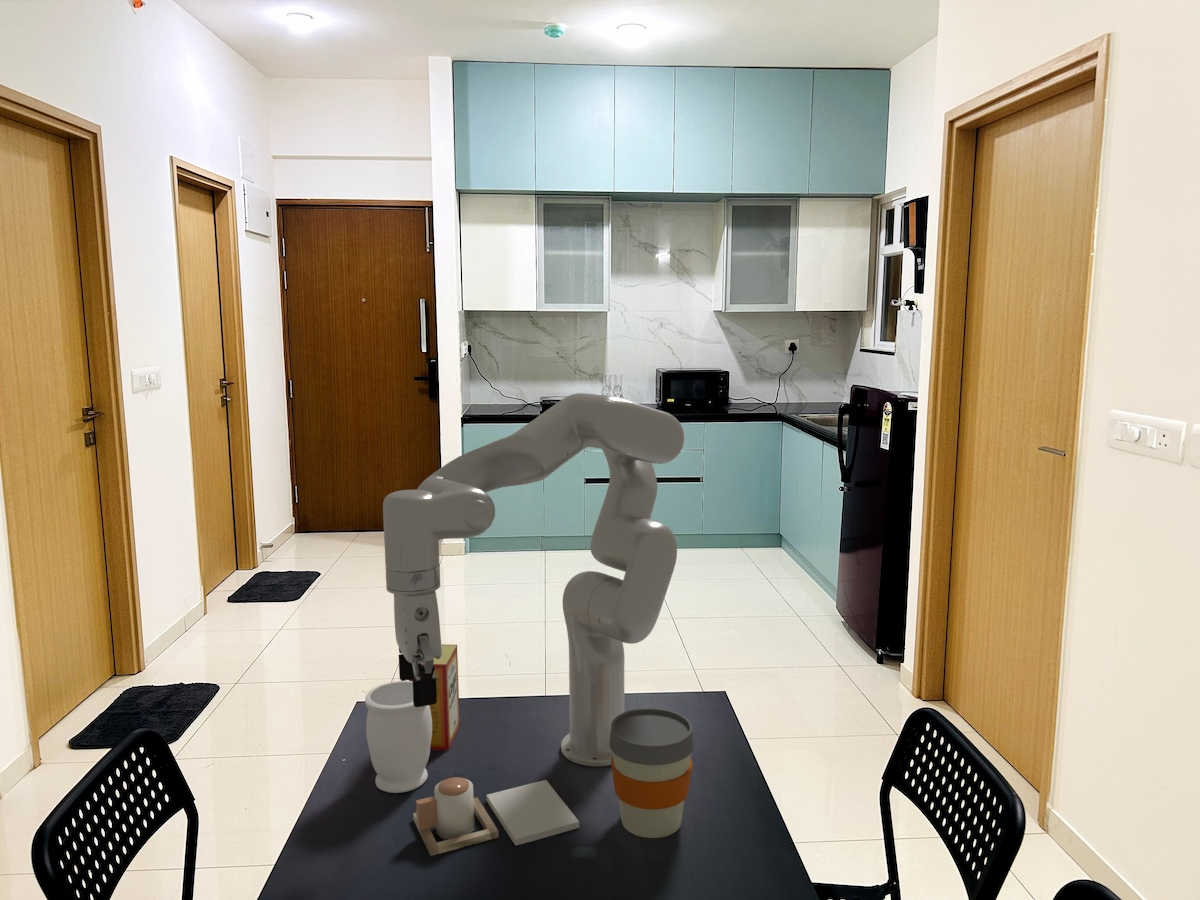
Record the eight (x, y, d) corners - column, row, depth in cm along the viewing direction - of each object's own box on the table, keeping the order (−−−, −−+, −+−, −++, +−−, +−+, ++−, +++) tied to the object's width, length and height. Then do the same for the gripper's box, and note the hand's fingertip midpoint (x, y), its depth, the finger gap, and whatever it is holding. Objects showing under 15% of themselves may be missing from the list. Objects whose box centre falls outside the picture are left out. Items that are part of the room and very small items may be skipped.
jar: (418, 801, 135) (414, 710, 133) (357, 794, 137) (352, 705, 135) (443, 766, 145) (440, 682, 143) (386, 761, 147) (382, 677, 145)
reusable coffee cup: (619, 850, 122) (619, 751, 120) (602, 802, 134) (601, 711, 132) (704, 839, 124) (705, 742, 122) (679, 793, 137) (680, 703, 134)
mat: (545, 785, 139) (545, 779, 139) (579, 827, 128) (579, 821, 127) (486, 800, 135) (486, 794, 135) (515, 845, 123) (515, 839, 123)
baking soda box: (424, 724, 160) (421, 642, 158) (459, 725, 160) (457, 642, 158) (411, 749, 151) (408, 662, 149) (448, 750, 151) (445, 663, 148)
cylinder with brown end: (467, 814, 131) (466, 771, 130) (479, 833, 126) (477, 789, 125) (413, 828, 128) (411, 784, 127) (423, 848, 123) (421, 803, 122)
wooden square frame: (477, 803, 134) (477, 797, 134) (498, 837, 125) (498, 831, 125) (413, 819, 130) (413, 813, 130) (430, 856, 121) (430, 849, 121)
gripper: (454, 591, 116) (458, 711, 119) (425, 559, 132) (429, 665, 135) (398, 598, 113) (403, 721, 116) (375, 565, 129) (380, 673, 132)
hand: (417, 691), depth 125 cm, fingers open, 9 cm apart
